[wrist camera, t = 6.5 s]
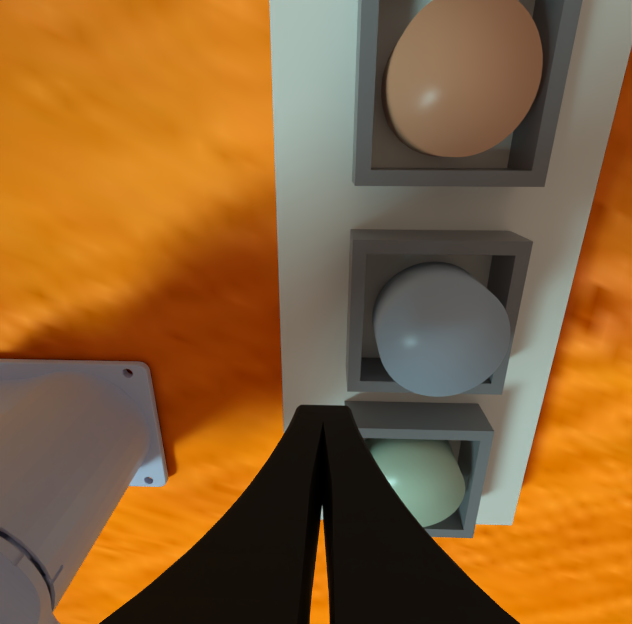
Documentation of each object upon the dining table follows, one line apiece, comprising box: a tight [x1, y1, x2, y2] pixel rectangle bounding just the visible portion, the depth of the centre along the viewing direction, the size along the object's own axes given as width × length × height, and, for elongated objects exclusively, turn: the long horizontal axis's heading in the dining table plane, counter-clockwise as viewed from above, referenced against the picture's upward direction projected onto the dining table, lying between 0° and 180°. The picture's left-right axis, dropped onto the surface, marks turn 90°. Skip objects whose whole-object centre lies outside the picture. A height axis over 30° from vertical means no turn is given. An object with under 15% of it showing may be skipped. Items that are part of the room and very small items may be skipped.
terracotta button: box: [381, 0, 543, 157], centre depth 13 cm, size 4×4×2 cm
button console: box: [269, 0, 632, 538], centre depth 17 cm, size 12×25×4 cm, turn 0°
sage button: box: [365, 438, 465, 527], centre depth 19 cm, size 4×4×2 cm
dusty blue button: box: [372, 261, 511, 397], centre depth 15 cm, size 4×4×2 cm
